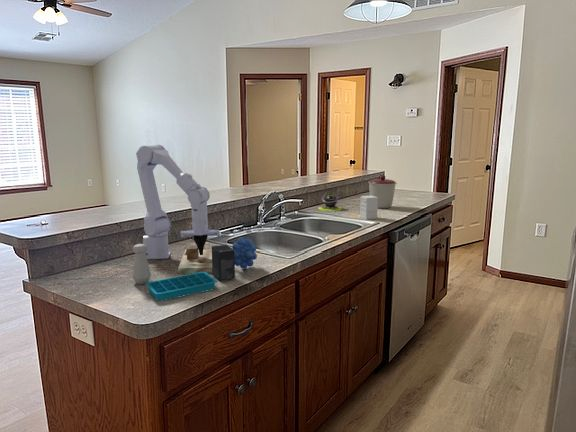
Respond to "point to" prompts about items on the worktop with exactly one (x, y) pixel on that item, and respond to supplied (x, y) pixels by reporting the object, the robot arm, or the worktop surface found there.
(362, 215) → the supplement box
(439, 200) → the worktop surface
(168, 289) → the ice cube tray
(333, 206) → the toy cauldron
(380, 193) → the canister
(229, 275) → the box
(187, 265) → the board
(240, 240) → the grapes
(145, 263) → the salt shaker
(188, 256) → the walnut block
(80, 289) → the worktop surface
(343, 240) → the worktop surface
